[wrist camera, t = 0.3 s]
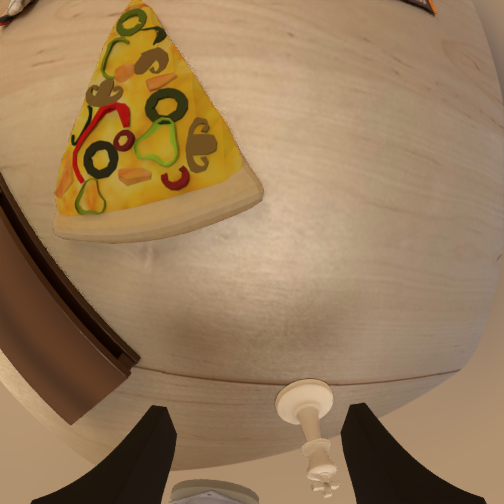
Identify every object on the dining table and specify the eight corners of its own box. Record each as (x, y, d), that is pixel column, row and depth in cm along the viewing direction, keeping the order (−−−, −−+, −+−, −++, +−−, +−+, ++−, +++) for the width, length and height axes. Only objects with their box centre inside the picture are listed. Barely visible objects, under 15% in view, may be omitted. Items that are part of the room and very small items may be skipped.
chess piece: (321, 420, 21) (347, 507, 11) (269, 417, 21) (277, 512, 11) (340, 380, 20) (381, 471, 11) (283, 375, 20) (301, 478, 10)
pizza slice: (68, 252, 18) (45, 260, 15) (67, 33, 14) (51, 21, 12) (266, 222, 18) (270, 227, 15) (232, -17, 14) (230, -39, 11)
